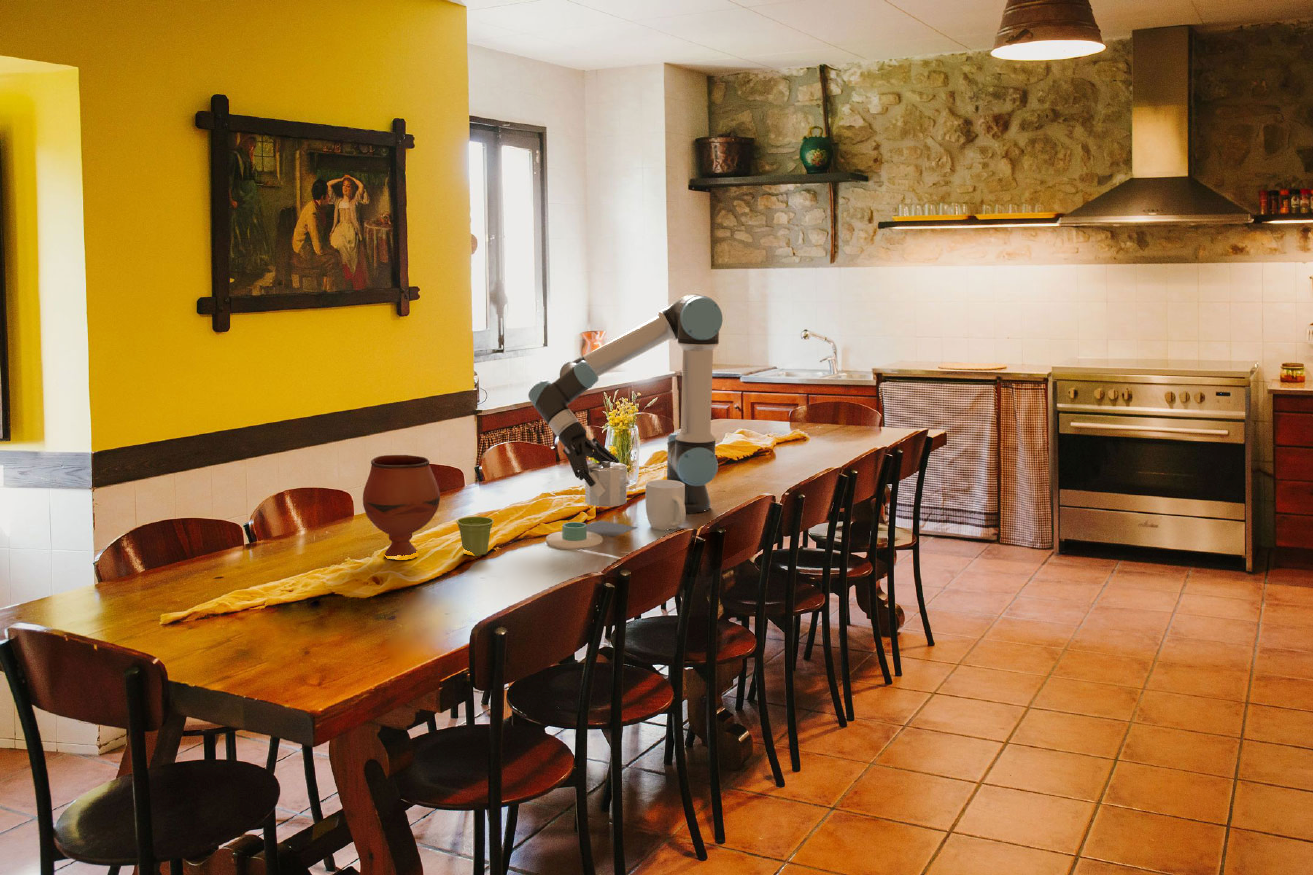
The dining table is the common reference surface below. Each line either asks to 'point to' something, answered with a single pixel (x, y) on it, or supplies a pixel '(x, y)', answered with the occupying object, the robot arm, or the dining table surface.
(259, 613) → the dining table surface
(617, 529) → the mat
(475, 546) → the plant pot
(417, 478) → the goblet
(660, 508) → the mug
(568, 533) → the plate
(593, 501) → the cover
